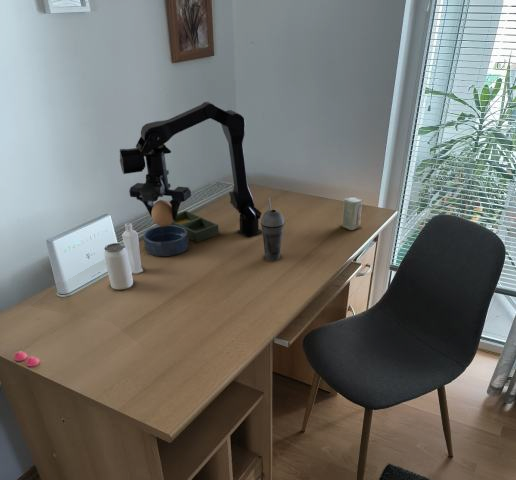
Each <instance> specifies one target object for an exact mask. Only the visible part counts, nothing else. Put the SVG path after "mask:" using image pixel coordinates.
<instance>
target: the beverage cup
mask: <svg viewBox="0 0 516 480" xmlns="http://www.w3.org/2000/svg"><path fill="white" fill-rule="evenodd" d="M267 202H268V210H266V212H264V213H263V215H262V217H261V221H260V226H261V231H262V238H263V239H262V240H263V247H264V256H265V259H266V260H267V261H269V262H276V261H278V260H280V258H281V257H280V256H281V251H282V241H283V231H284V227H285V219H284V216H283V214H282V213H281V212H280V211H278V209H277V210H276V209H272V207H271V198H270V195H267Z"/></svg>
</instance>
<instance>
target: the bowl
mask: <svg viewBox="0 0 516 480" xmlns="http://www.w3.org/2000/svg"><path fill="white" fill-rule="evenodd" d="M142 237H143V243H144V244H143V245H144V249H145V251H146V253H148V254H149V255H152V256H155V257H156V256H157V257H171V256H175V255H179V254H182V253H184V252H185V251H187V250H188V248H189V238H188V235H187V231H186V229H184V228H182V227H179V226H173V225H169V226H167V227H161V226H158V225H157V226H155V227H152V228H150V229H147V230H146V231H145V232H144V233H143V236H142Z"/></svg>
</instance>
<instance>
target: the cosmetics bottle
mask: <svg viewBox="0 0 516 480" xmlns="http://www.w3.org/2000/svg"><path fill="white" fill-rule="evenodd" d="M362 208H363V199H360V198H358V197H355V196H350V197H346V198H343V207H342V222H341V227H343V228H345V229H347V230H349V231H353V230H357V229H360V228H361V221H362V220H361V219H362V210H363V209H362Z"/></svg>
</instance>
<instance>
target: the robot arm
mask: <svg viewBox="0 0 516 480" xmlns="http://www.w3.org/2000/svg"><path fill="white" fill-rule="evenodd" d="M209 119H211V120H212V121H215V122H217V123H218V124H220V125H221V128H222V132H223V134H224V136H225V138H226V141H227V143H228V150H229V151H228V152H229V157H230V165H231V172H232V179H233V189H232V191H229V192H228V194H229V197H230V202H229V203H230V204H231V205H232V207H233V208H235V210H236V212H237V213H238V214H239V229H238V230H236V232H237V234H240V235H241V236H245V237H247V238H251V237H253V236H256V235H258V234H261V233H263V231H262V229H259V226H260V225H259V224H260V223H259V219H261V215H262V211H260V210H259V209H258V208H256V207H255V206H256V205H255V202H254V201H255V200H254V198H253V195H252V193H251V190H250V188H249V186H248V185H249V184H248V177H247V168H246V160H245V152H244V144H243V143H244V139H245V134H246V119H245V117H244V116H242V115H241V114H240V113H238V112H236V111H234V110H232V109H228V110H224V109H222V108H220V107H217V106H216V105H215V104H213V103H211V102H210V101H204V102H203V103H201V104H200V105H198V106H195V107H193V108H191V109H188V110H186V111H184V112H182V113H180V114H178V115H175V116H172V117H170V118H168V119H164V120H157V121H152V122H148V123H145V124H144V125H143V126H142V127H141V130H140V137H139V139H138V140H137V143H136V144H135V147H133V148H119V163H120V169H121V172H122V174H123V175H127V174H134V173H141V172H143V170H145V168H146V169H147V174H145V182H144V183H143V182H136V183H135V184H133V185H132V186H130V188H129V190H128V192H129V197H131V198H135V199H136V200H137V201H140V202H142V204H143V205H144V206H145V208H146V210H147V211H148V214H149V215H150V218H152V215H151V212H152V208H153V206H154V204H155V203H156V202H157V201H159V200H158V199H159V198H163V197H164V196H165V197H166V196H167V197H171V200H170V201H169V204H170V205H171V206H172V216H173V220H175V219H176V216H177V213H179V209H180V206H181V204H182V203H184V202H186V201H187V200H188V199H189V198H190V197H192V192H191V189H190V188H189V186H177V187H176V188H174V189H171V183H169V178H168V175H169V174H170V171H169V170H168V169H167V164H166V155H165V154H171V153H172V151H171V150H170V148H168V147H167V145H166V143H168V142H169V141H170V140H171V139H172V138H173V137H174V136H175V135H176V134H179V133H181V132H183V131H185V130H187V129H189V128H192V127H194V126H196V125H198V124H200V123H203V122H205V121H207V120H209Z"/></svg>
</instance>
